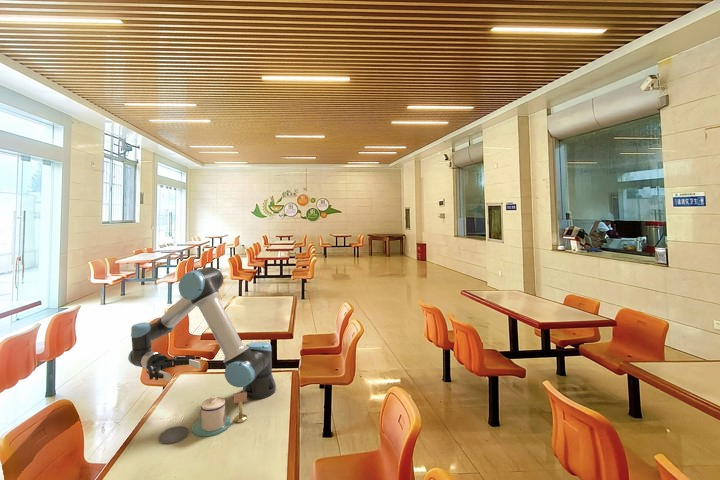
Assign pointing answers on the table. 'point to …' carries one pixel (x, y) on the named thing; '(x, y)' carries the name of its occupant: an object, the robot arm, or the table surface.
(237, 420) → the brass tag sign
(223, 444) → the table surface
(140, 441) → the table surface
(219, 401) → the teacup with lid
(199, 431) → the teal coaster
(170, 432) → the charcoal coaster
